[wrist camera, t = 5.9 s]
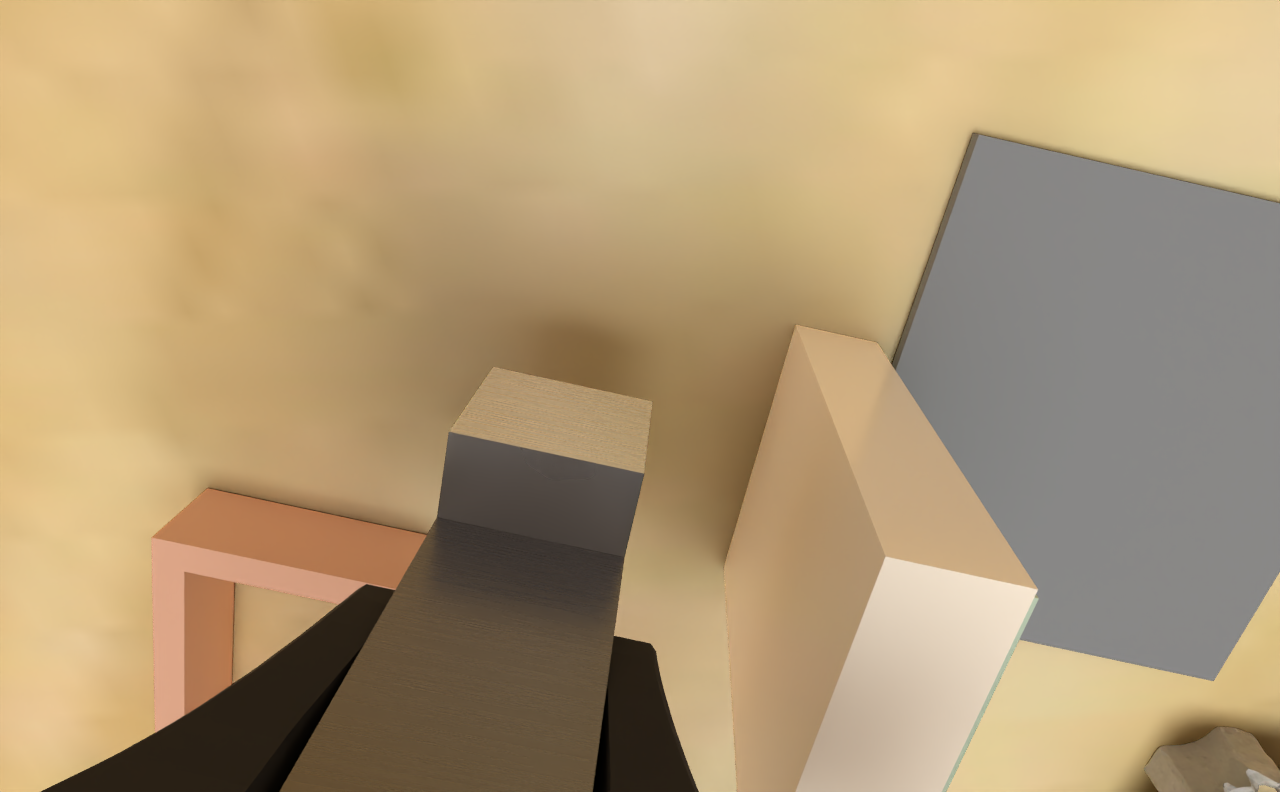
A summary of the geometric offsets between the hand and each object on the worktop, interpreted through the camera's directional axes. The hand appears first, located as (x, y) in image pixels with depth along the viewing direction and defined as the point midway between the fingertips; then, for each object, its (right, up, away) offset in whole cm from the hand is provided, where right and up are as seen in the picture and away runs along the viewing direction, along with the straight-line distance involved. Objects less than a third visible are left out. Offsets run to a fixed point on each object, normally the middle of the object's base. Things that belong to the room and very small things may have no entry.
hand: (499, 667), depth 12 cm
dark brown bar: (0, +2, +4) cm, 4 cm away
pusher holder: (-8, -3, +12) cm, 15 cm away
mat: (+13, +3, +8) cm, 16 cm away
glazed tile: (+6, +2, +9) cm, 11 cm away
